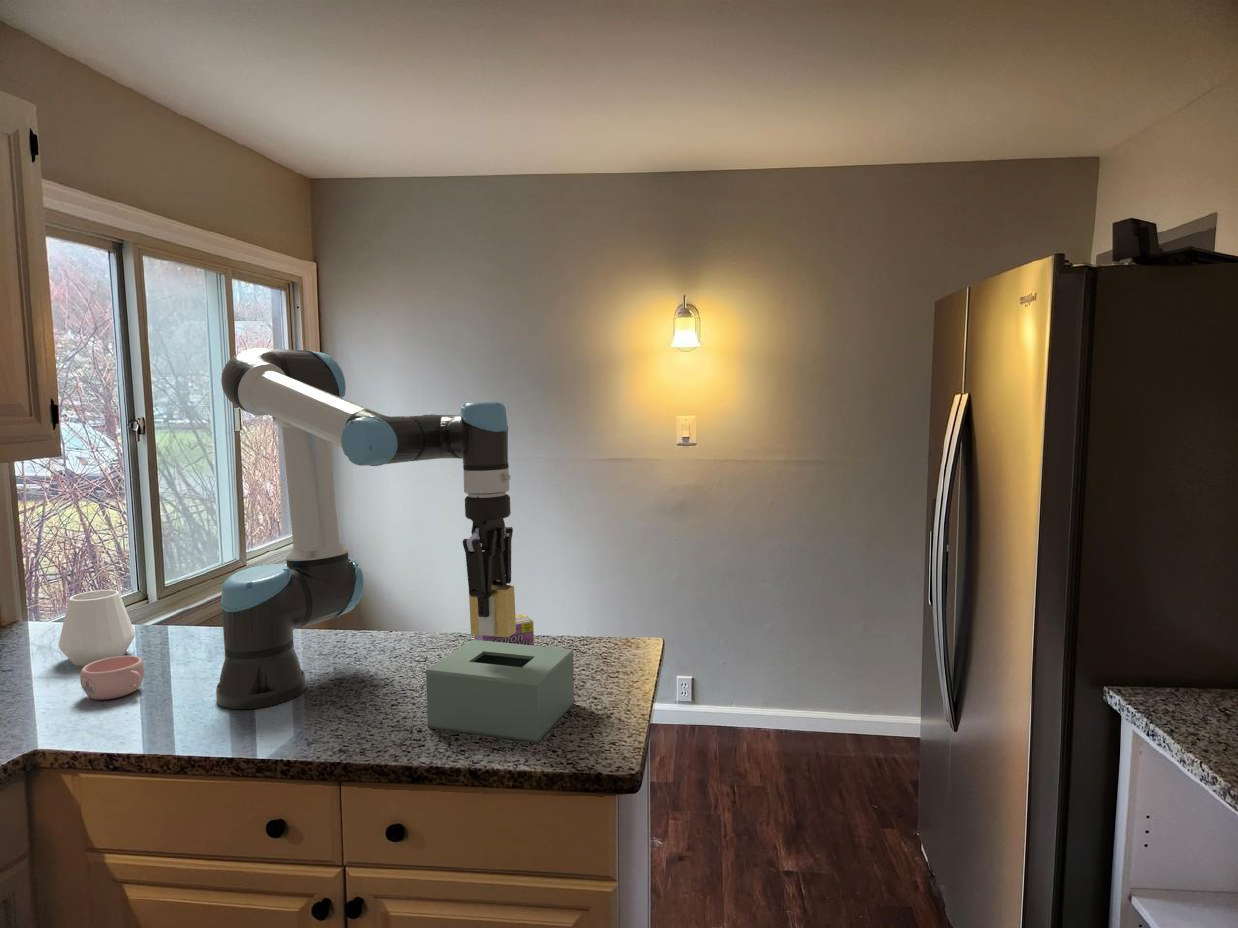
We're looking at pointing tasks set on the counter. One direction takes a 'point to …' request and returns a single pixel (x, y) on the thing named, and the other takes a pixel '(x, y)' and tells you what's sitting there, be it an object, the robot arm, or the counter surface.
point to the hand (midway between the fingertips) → (492, 630)
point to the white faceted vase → (95, 627)
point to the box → (520, 637)
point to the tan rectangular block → (497, 611)
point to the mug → (112, 677)
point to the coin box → (500, 690)
